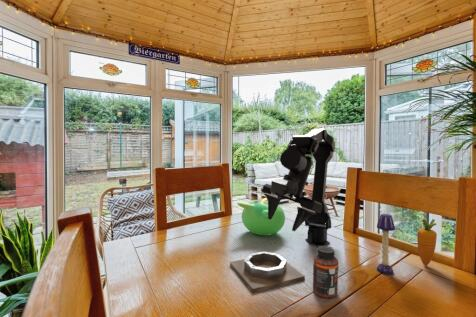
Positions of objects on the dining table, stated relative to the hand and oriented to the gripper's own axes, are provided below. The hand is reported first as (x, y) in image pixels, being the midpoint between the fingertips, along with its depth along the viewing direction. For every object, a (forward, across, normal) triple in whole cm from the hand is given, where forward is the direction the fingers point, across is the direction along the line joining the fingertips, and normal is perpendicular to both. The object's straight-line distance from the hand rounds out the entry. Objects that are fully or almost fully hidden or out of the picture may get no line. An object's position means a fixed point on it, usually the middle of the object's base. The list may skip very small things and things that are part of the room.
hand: (280, 224), depth 78 cm
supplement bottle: (+11, +17, +3) cm, 21 cm away
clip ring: (+14, 0, 0) cm, 15 cm away
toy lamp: (+2, +22, +25) cm, 34 cm away
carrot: (-3, +29, +36) cm, 47 cm away
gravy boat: (+10, -22, +22) cm, 33 cm away
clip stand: (+14, 0, 0) cm, 15 cm away
